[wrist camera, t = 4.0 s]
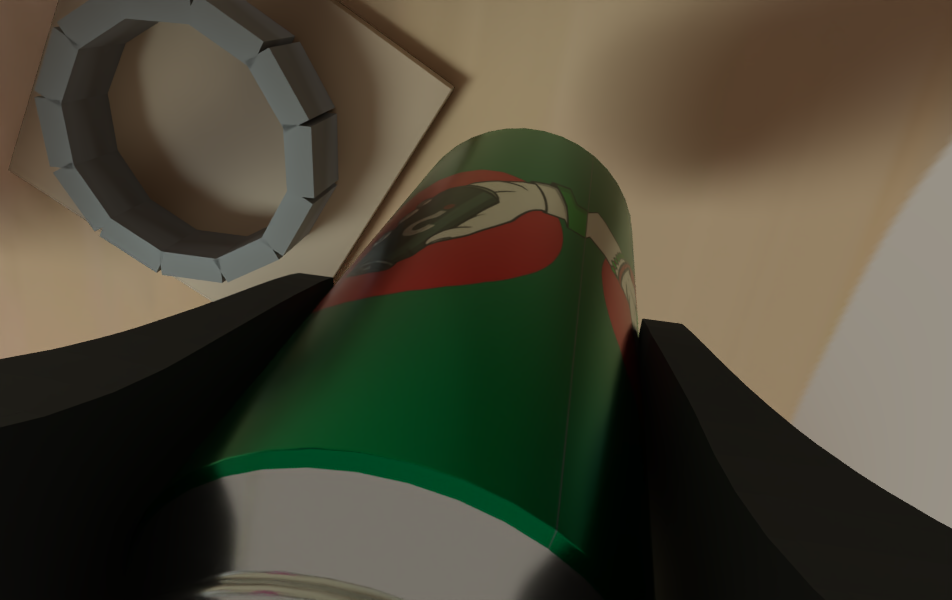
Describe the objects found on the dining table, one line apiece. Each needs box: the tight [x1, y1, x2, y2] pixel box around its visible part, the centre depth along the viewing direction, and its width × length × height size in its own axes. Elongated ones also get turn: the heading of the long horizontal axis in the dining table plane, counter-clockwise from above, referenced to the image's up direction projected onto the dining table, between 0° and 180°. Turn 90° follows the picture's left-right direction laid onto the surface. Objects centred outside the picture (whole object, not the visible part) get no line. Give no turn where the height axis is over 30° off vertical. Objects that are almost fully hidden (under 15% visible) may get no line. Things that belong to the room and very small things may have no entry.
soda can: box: [123, 128, 656, 600], centre depth 10 cm, size 5×5×12 cm
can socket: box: [8, 0, 455, 302], centre depth 19 cm, size 11×11×2 cm
